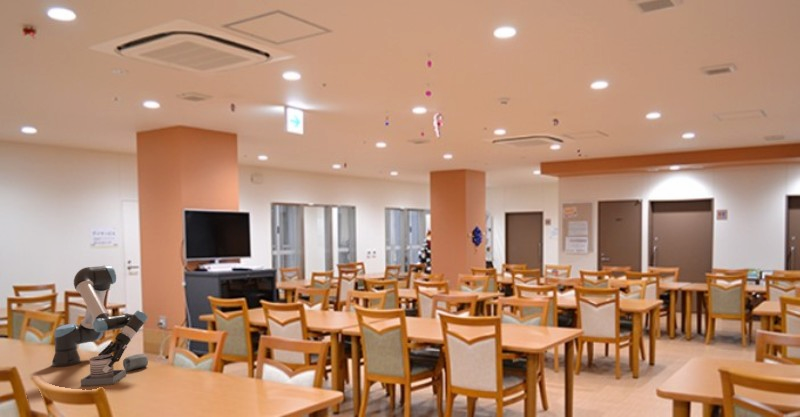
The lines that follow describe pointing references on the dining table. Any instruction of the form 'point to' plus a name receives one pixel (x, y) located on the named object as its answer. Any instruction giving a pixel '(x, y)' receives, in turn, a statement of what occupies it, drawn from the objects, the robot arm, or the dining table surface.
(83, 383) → the tray
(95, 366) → the can
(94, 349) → the dining table surface
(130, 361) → the spool
